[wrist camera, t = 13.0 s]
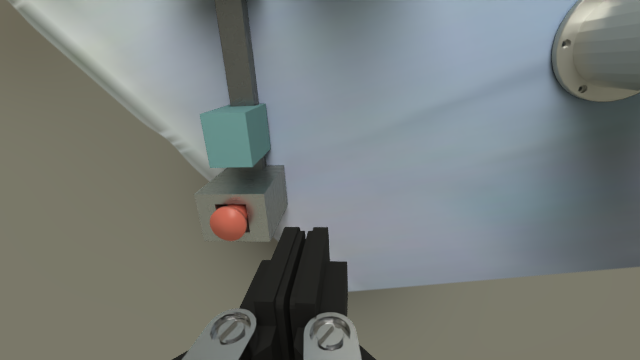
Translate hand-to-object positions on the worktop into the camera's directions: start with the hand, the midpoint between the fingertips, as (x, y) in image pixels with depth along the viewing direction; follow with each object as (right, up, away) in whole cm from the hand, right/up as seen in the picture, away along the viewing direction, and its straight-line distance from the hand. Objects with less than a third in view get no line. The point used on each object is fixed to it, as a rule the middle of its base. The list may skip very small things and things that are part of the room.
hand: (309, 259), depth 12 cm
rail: (-9, +16, +26) cm, 32 cm away
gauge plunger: (-9, 0, +25) cm, 27 cm away
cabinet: (-9, +2, +31) cm, 33 cm away
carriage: (-9, +10, +28) cm, 31 cm away
